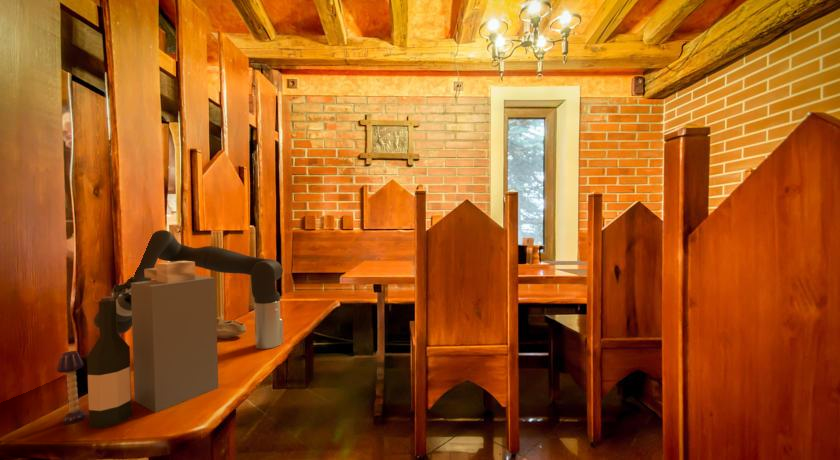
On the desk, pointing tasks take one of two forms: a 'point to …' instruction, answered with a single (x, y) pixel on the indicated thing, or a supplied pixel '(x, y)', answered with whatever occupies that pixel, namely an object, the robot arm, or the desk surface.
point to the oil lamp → (229, 328)
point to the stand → (174, 341)
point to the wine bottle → (109, 372)
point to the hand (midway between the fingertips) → (151, 277)
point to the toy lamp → (71, 384)
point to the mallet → (172, 271)
